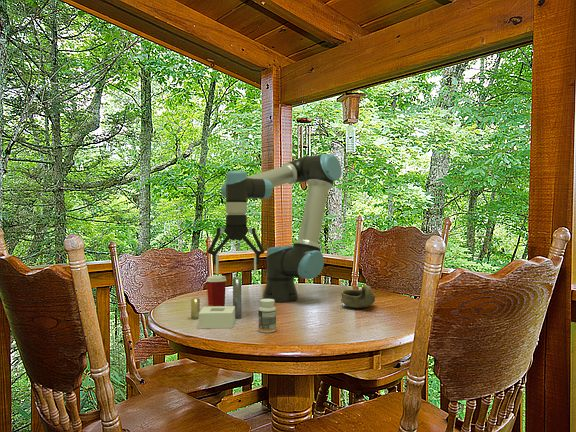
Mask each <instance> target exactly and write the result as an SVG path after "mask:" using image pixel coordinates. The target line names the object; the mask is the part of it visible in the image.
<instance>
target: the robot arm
mask: <svg viewBox="0 0 576 432" xmlns="http://www.w3.org/2000/svg"><path fill="white" fill-rule="evenodd" d="M341 175H342V165H341V163H340V160H339V159H338V157H337V156H335V155H334V154H333V153H323V154H315V155H308V156H307V155H306V156H302V157H299V158H297V159H294V160H291V161H288V162H285V163H283V164H282V166H280V167H277V168H273V169H270V170H265V171H263V172H259V173H256V174H251V175H248V173H247V172H246V171H243V170H241V171H240V170H232V171H227V173H226V174H225V181H224V182H223V183H222V185H221V188H220V191H221V196H223V198H224V199H225V214H226V216H225V228H222V227H218V228H216V234H215V235H214V239H212V242H211V243H210V246H209V248H208V250H207V254H209V255H212V265H215V274H216V275H219V274H220V272H219V271H220V270H219V268H220V254H218V253H219V252H220V251H221V250H222V249H223V247H224V246H225V245H226V244H227V243H228V241H229V240H230V241H242V240H243V241H244V242H245V243H246V244H247V245H248V247H249V248H250V249H251V250H252V251H253V253H254V255H253V274H255V275H256V274H257V265H260V263H261V262H260V260H261V259H260V256H261V255H262V254H265V252H266V283H265V284H266V285H265V287H264V289H263V294H262V299H274V300H275V303H288V302H294V301H297V300H298V299H299V298H298V297H299V294H298V290H297V287H296V284H295V280H294V278H298V279H299V278H300V279H303V280H304V279H305V280H307V279H308V280H309V279H316V278H317V276H319V275H320V274H321V273H322V272H323V271H322V270H323V268H324V265H325V259H324V255H323V253H322V252H321V249H322V248H321V247H320V246H319V241H320V236H321V231H322V225H323V221H324V215H325V210H326V204H327V202H328V201H327V199H328V195H329V191H330V190H331V189H333V187H334V183H335V182H337V181H338V180H340V178H341ZM298 183H306V184H307V186H308V190H307V194H306V199H305V204H304V209H303V214H302V218H301V223H300V229H299V234H298V238H297V240H296V241H294V242H293V245H291V244H290V245H282V246H274V247H268V248H267V251H265V248H264V247H263V245H262V243H261V240H260V238H259V237H258V234H257V233H256V232H257V230H256V229H257V228H255V227H251V228H248V224H247V223H248V216H247V213H248V200H257V199H259V200H267V199H269V198H271V196H272V195H273V189H274V188H276V187H279V186H283V185H285V184H287V185H293V184H298ZM223 233H225V234H226V235H225V236H226V237H225V238H224V239H223V240H222V242H221V243H220V244H219V245H218V246H217V248H216V249H215V246H216V245H217V242H218V240H219V238H220V236H221V235H222V234H223ZM248 233H249V234H250V235H252V237H253V239H254V241H255V243H256V246H257V247H258V249H259V250H258V249H257V247H256V246H255V245H254V244H253V243H252V242H251V240H250V239H249V238H248V237H247V234H248ZM214 249H215V250H214Z"/></svg>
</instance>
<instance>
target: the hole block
mask: <svg viewBox="0 0 576 432" xmlns="http://www.w3.org/2000/svg"><path fill="white" fill-rule="evenodd" d="M235 322H236V319H235V306H233V305H225V306H208V305H206V306H203V307H202V308H200V312H199V319H198V329H200V330H201V328H211V329H233V328H234V324H235Z"/></svg>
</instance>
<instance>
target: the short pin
mask: <svg viewBox="0 0 576 432" xmlns="http://www.w3.org/2000/svg"><path fill="white" fill-rule="evenodd" d="M200 311H201V308H200V298H194V297H193V298H191V299H190V315H191V316H190V318H191V320H199V312H200Z"/></svg>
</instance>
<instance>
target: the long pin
mask: <svg viewBox="0 0 576 432" xmlns="http://www.w3.org/2000/svg"><path fill="white" fill-rule="evenodd" d="M232 306H235V320H241V319H242V318H243V317H242V316H243V315H242V278H232Z"/></svg>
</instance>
